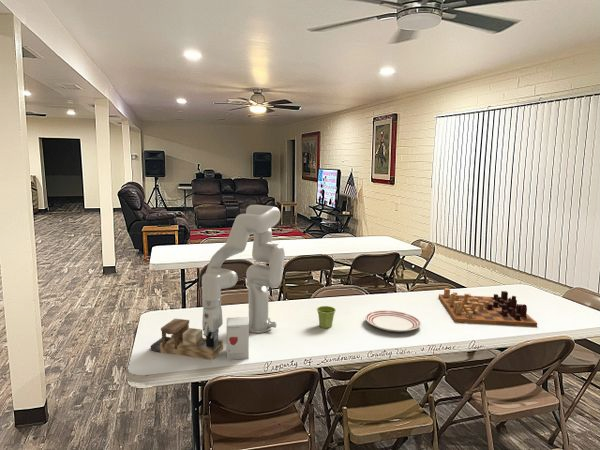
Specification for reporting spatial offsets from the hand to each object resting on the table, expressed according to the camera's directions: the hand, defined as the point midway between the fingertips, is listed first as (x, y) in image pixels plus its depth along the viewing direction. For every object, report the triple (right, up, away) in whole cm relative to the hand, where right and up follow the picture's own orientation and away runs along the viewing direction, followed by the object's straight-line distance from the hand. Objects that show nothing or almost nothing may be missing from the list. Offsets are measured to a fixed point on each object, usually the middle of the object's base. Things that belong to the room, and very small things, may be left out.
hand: (212, 344), depth 179 cm
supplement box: (+11, -5, 0) cm, 12 cm away
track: (-11, -4, +3) cm, 12 cm away
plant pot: (+50, 0, +32) cm, 59 cm away
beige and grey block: (-5, -1, +1) cm, 5 cm away
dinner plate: (+83, -1, +35) cm, 91 cm away
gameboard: (+139, +2, +58) cm, 150 cm away
